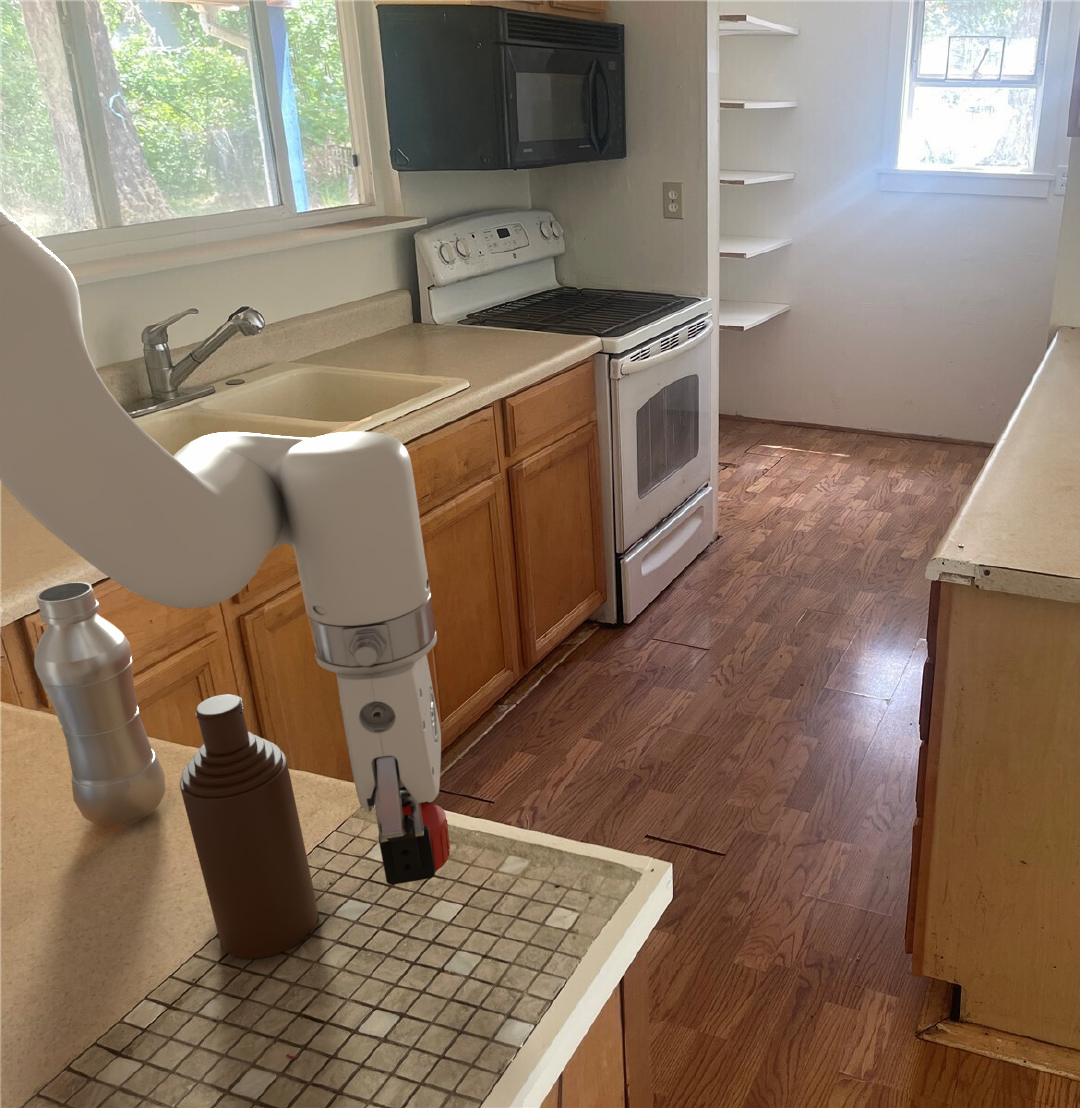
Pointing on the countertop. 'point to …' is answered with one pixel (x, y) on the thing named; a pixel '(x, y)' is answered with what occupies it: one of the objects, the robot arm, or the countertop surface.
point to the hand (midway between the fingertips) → (412, 855)
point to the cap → (435, 831)
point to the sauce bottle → (247, 835)
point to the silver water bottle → (96, 708)
